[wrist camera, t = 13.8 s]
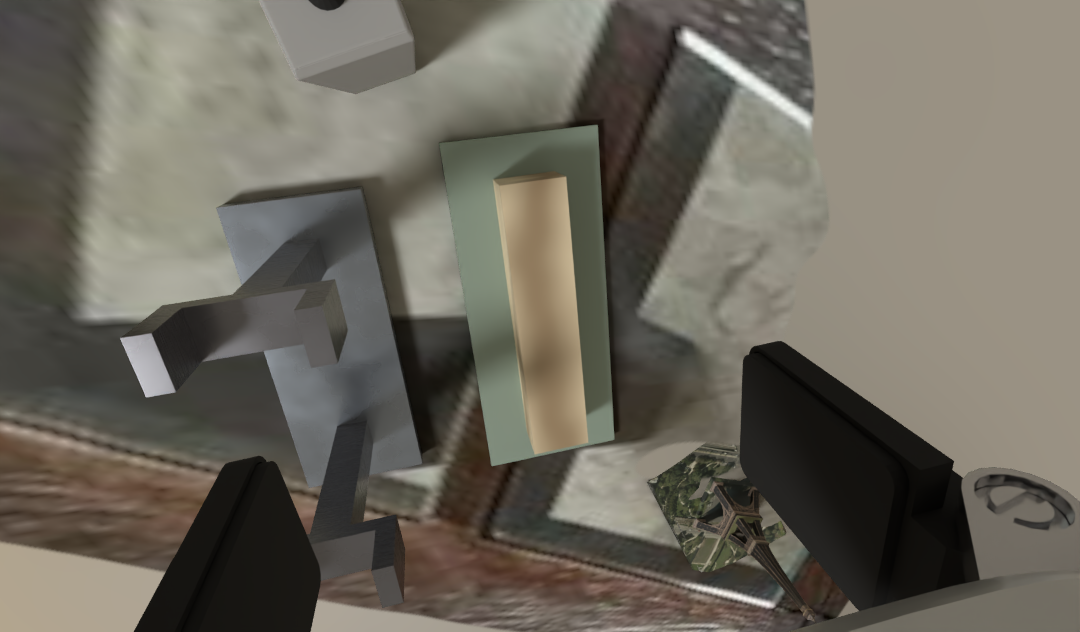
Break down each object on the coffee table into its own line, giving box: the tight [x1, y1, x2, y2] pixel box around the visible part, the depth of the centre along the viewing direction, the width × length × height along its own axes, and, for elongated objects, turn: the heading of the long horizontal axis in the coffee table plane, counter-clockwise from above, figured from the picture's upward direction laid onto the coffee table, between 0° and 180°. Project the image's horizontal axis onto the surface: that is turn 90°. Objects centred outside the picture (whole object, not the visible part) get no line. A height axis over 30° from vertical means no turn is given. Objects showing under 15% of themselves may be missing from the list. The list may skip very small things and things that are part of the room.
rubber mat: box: [439, 125, 614, 466], centre depth 38 cm, size 10×24×1 cm, turn 6°
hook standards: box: [120, 187, 422, 608], centre depth 29 cm, size 8×20×15 cm, turn 6°
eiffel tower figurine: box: [647, 443, 817, 624], centre depth 43 cm, size 15×10×13 cm
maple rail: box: [493, 171, 588, 454], centre depth 36 cm, size 4×19×3 cm, turn 6°
